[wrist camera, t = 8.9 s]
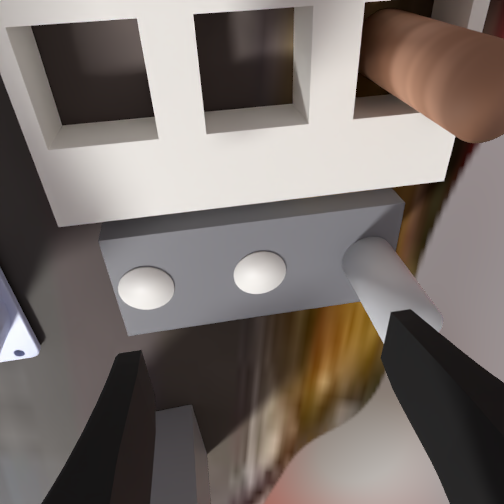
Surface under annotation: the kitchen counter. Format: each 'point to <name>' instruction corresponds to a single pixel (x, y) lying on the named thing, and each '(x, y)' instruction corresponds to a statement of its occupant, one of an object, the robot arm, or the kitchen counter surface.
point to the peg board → (220, 116)
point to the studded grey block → (263, 262)
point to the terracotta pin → (437, 71)
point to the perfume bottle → (179, 459)
